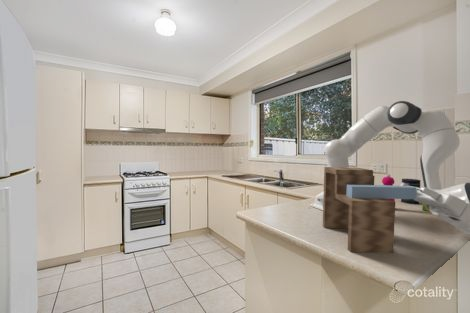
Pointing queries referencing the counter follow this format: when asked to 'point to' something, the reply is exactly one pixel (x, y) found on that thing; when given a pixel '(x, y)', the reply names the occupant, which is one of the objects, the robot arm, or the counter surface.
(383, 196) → the beam
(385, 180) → the pepper mill
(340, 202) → the step shelf
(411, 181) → the storage jar
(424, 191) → the robot arm
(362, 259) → the counter surface
